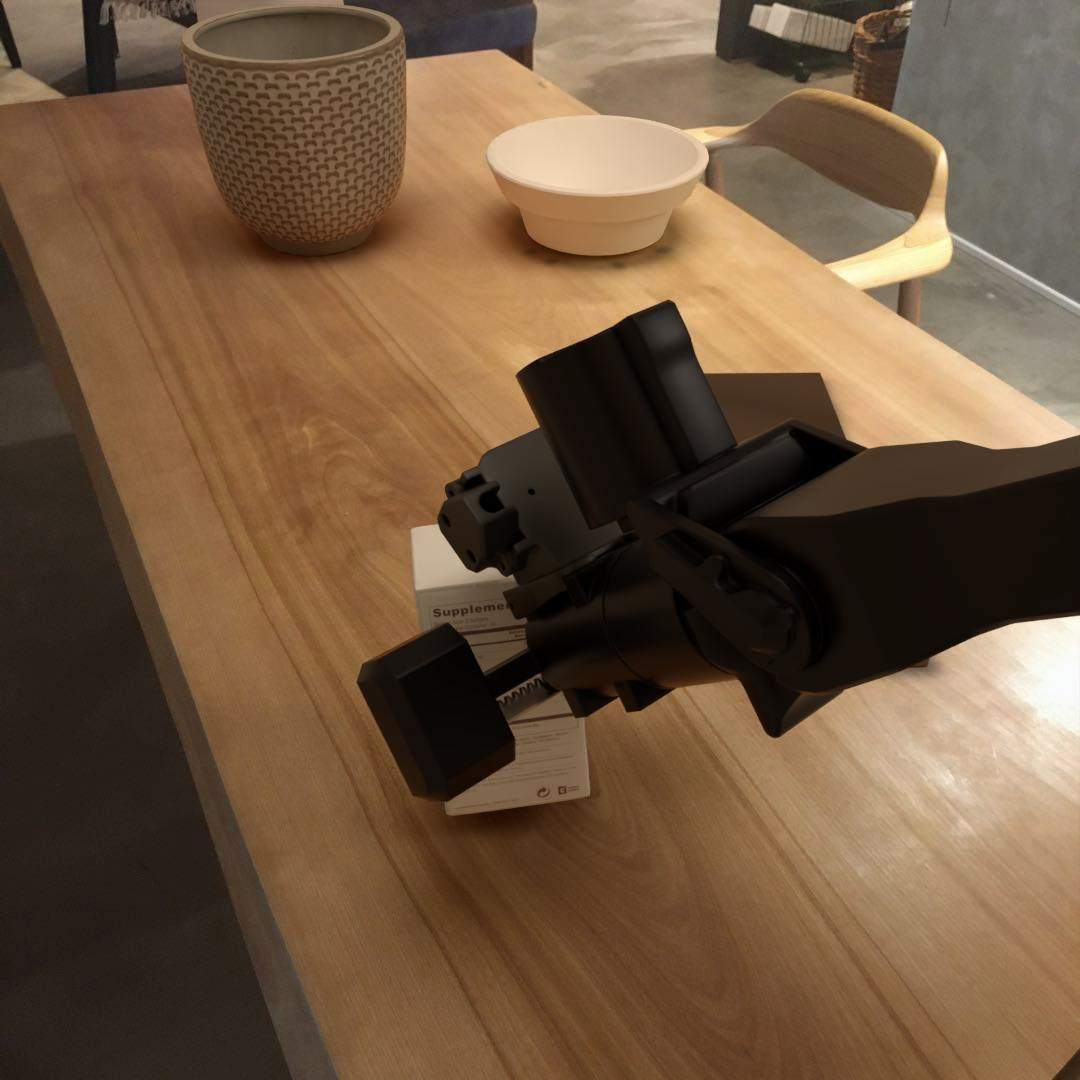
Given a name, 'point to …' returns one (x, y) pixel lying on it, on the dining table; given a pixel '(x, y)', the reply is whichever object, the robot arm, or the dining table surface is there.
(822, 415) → the board
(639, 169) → the bowl
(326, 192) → the planter
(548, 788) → the white packaging box
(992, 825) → the dining table surface
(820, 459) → the robot arm
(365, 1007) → the dining table surface
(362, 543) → the dining table surface
